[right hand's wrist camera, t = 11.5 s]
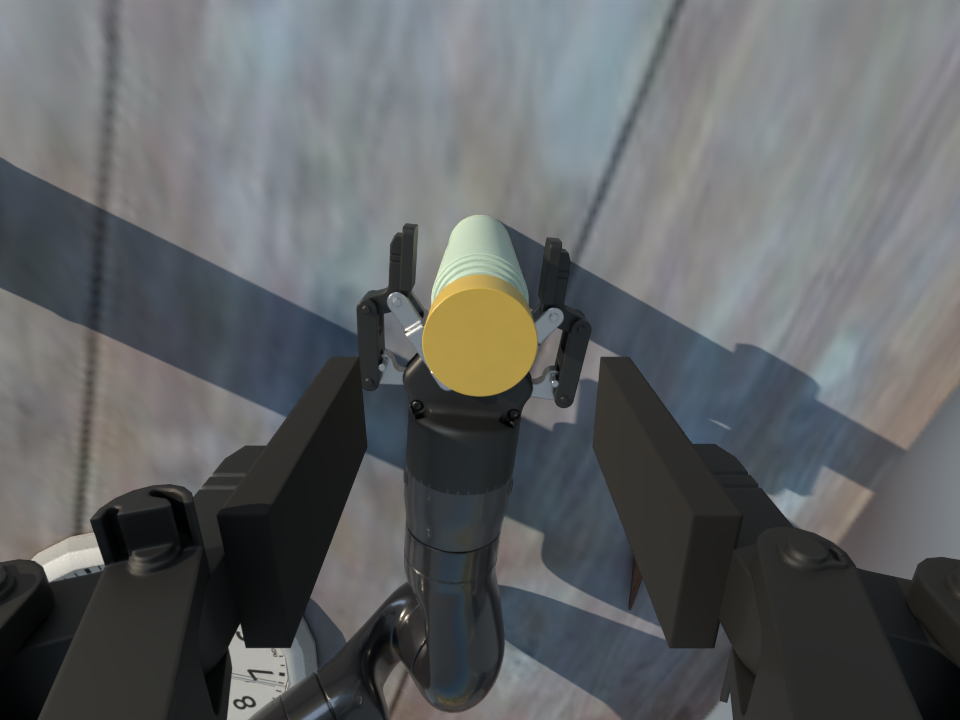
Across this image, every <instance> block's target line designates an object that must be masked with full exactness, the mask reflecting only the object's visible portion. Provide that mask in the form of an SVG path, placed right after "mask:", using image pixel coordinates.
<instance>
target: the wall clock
mask: <svg viewBox="0 0 960 720" xmlns="http://www.w3.org/2000/svg"><path fill="white" fill-rule="evenodd" d="M32 561H35V562H37V563H38V564H40V565H41V566H43V568H44V571H45V573H46V576H47V578H48V581H49V582H54V581H59V580H63V579H68V578H73V577H77V576H82V575H87V574H91V573H96V572H99V571H103V569H104V567H105V565H104V562H103V558H102V555H101V552H100V549H99V546H98V543H97V540H96V537H95V534H94V532H93V533H88V534H83V535H78V536H72V537H70V538H68V539H66V540H64V541H62V542H60V543H58V544H56V545H54V546H52V547H50V548H48V549H46V550H44V551H42V552H40V553H38V554H37V555H36V556H35V557H34V558H33V559H32ZM228 648H229V652H230V656H231V662H232V677H231V686H230V696H229V706H228V715H227V720H248V719H249V718H250V717H251V716H252V715H253V714H255V713H256V712H257V711H258V710H260V709H261V708H262V707H264V706H265V705H266V704H267V703H269V702H270V701H272V700H273V699H275V698H276V697H278V696H279V695H281V694H282V693H283V692H285V691H286V690H288V689H289V688H291V687H292V686H293V685H295V684H296V683H298V682H299V681H301V680H302V679H304V678H305V677H307V676H308V675H309V674H311V673H312V672H315V673H316V670H317V669H318V664H317V654H316V644H315V640H314V638H313V636H312V634H311V632H310V630H309V628H308V625H307V623H306V621H305V619H304V617H302V620H301V622H300V625H299V627H298V630H297V633H296V635H295V638H294V641H293V643H292V646H291V648H246V647H245V643H244V638H243V634H242V629H241V625H239V627H238V629H237V631H236V633H235V635H234V637H233V639H232V641H231V643H230V645H229V647H228Z"/></svg>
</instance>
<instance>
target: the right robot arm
mask: <svg viewBox="0 0 960 720" xmlns="http://www.w3.org/2000/svg"><path fill="white" fill-rule="evenodd" d="M366 449H367V438H366V426H365V415H364V404H363V393H362V382H361V371H360V359H359V357H330V359H329V360H328V361H327V363H326V364H325V365H324V367H323V368H322V370H321V371H320V372H319V374H318V375H317V376H316V378H315V379H314V381H313V382H312V383H311V385H310V386H309V388H308V389H307V390H306V392H305V393H304V394H303V396H302V397H301V399H300V400H299V401H298V403H297V404H296V406H295V407H294V408H293V410H292V411H291V412H290V414H289V415H288V417H287V418H286V419H285V421H284V422H283V424H282V425H281V426H280V428H279V429H278V430H277V432H276V433H275V435H274V436H273V437H272V439H271V440H270V442H269V443H268V444H267V446H244V447H243V448H241V449H240V450H238V451H236V452H235V453H233V454H232V455H230V456H229V457H227V458H225V459H224V461H223V462H222V463H221V464H220V466H219V467H218V468H217V469H216V470H215V472H214V473H213V476H212V477H210V478H209V479H208V480H207V481H206V482H205V484H204V485H203V486H202V490H199V491H198V492H197V493H196V495H195V496H194V497H193V496H192V493H191V492H190V491H189V490H187V489H186V488H185V487H182V486H177V485H171V484H167V485H153V486H149V487H145V488H141V489H137V490H133V491H131V492H129V493H126V494H124V495H122V496H119V497H117V498H115V499H113V500H112V501H110V502H109V503H107V504H106V505H104V506H103V507H101V508H100V509H99V510H98V511H97V512H96V514H95V515H94V516H93V517H92V518H91V519H90V522H91V525H92V528H93V531H94V534H95V537H96V540H97V543H98V546H99V549H100V552H101V555H102V558H103V562H104V565H105V567H104V569H103V571H99V572H96V573H91V574H87V575H82V576H77V577H73V578H68V579H63V580H59V581H54V582H49V581H48V578H47V576H46V573H45V571H44V568H43V566H41V565H40V564H38V563H37V562H35V561H32V560H21V559H18V560H12V561H6V562H0V720H227V715H228V706H229V696H230V686H231V677H232V662H231V656H230V652H229V648H228V647H229V645H230V643H231V641H232V639H233V637H234V635H235V633H236V631H237V629H238V627H239V625H241V629H242V634H243V638H244V643H245V647H246V648H291V646H292V643H293V641H294V638H295V635H296V633H297V630H298V627H299V625H300V622H301V620H302V617H303V614H304V612H305V609H306V606H307V604H308V601H309V599H310V596H311V593H312V591H313V588H314V585H315V583H316V580H317V578H318V575H319V572H320V570H321V567H322V564H323V562H324V559H325V556H326V554H327V551H328V549H329V546H330V543H331V541H332V538H333V535H334V533H335V530H336V528H337V525H338V522H339V520H340V517H341V514H342V512H343V509H344V507H345V504H346V501H347V499H348V496H349V493H350V491H351V488H352V485H353V483H354V480H355V478H356V475H357V472H358V470H359V467H360V464H361V462H362V459H363V457H364V454H365V451H366ZM593 449H594V451H595V454H596V457H597V459H598V462H599V464H600V467H601V470H602V472H603V475H604V478H605V480H606V483H607V485H608V488H609V491H610V493H611V496H612V499H613V501H614V504H615V507H616V509H617V512H618V514H619V517H620V520H621V522H622V525H623V528H624V530H625V533H626V535H627V538H628V541H629V543H630V546H631V549H632V551H633V554H634V556H635V559H636V562H637V564H638V567H639V570H640V572H641V575H642V578H643V580H644V583H645V585H646V588H647V591H648V593H649V596H650V599H651V601H652V604H653V606H654V609H655V612H656V614H657V617H658V620H659V622H660V625H661V627H662V630H663V633H664V635H665V638H666V641H667V643H668V646H669V648H714V647H715V643H716V638H717V634H718V629H719V625H720V622H721V624H722V626H723V628H724V630H725V632H726V634H727V636H728V638H729V640H730V642H731V644H732V648H731V652H730V656H729V660H728V665H727V669H726V673H725V677H724V682H723V686H722V690H721V697H720V701H722V702H726V703H727V701H728V697H729V693H730V694H731V704H732V713H733V720H960V560H956V559H951V558H945V557H937V558H926V559H925V560H924V561H922V562H921V563H919V564H918V565H917V568H916V570H915V573H914V576H913V578H912V580H908V579H903V578H898V577H894V576H889V575H884V574H880V573H875V572H870V571H866V570H862V569H859V568H856V566H855V564H854V563H853V561H852V560H851V559H850V557H849V556H848V555H847V553H846V552H844V551H843V550H842V549H840V548H839V547H838V546H837V545H835V544H834V543H833V542H831V541H829V540H827V539H825V538H823V537H821V536H819V535H817V534H815V533H812V532H809V531H805V530H802V529H798V528H794V527H793V526H792V525H791V523H790V522H789V521H788V520H787V519H786V517H785V516H784V515H783V514H782V513H781V511H780V510H779V509H778V508H777V507H776V505H775V504H774V503H773V502H772V501H771V499H770V498H769V497H768V496H767V495H766V493H765V492H764V491H763V490H762V489H761V488H758V484H757V483H756V481H755V480H754V479H753V478H752V477H751V475H748V472H747V471H746V469H745V468H744V467H743V466H742V464H741V463H740V462H739V461H738V460H737V458H736V457H735V456H733V455H731V454H730V453H728V452H727V451H725V450H723V449H722V448H720V447H719V446H717V445H716V444H692V443H691V442H690V440H689V439H688V437H687V436H686V435H685V433H684V432H683V430H682V429H681V428H680V426H679V425H678V424H677V422H676V421H675V419H674V418H673V417H672V415H671V414H670V412H669V411H668V410H667V408H666V407H665V406H664V404H663V403H662V401H661V400H660V399H659V397H658V396H657V394H656V393H655V392H654V390H653V389H652V388H651V386H650V385H649V383H648V382H647V381H646V379H645V378H644V376H643V375H642V374H641V372H640V371H639V370H638V368H637V367H636V365H635V364H634V363H633V361H632V360H631V359H630V357H601V359H600V370H599V382H598V393H597V404H596V415H595V426H594V438H593Z"/></svg>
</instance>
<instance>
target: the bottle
mask: <svg viewBox="0 0 960 720" xmlns="http://www.w3.org/2000/svg"><path fill="white" fill-rule="evenodd" d="M478 274H483V275H491V276H495V277H498V278H501V279H503V280H505V281H507V282H509V283H510V284H512V285H513V286H514V287H515V288H516V289H517V290H519V291H520V293H521V294H522V295H523V296H524V298H525V300H526V301H527V303H528V305H529V296H528V290H527V286H526V283H525V280H524V277H523V274H522V271H521V268H520V265H519V262H518V260H517V257H516V254H515V251H514V248H513V245H512V242H511V239H510V236H509V234H508V232H507V230H506V228H505V227H504V226H503V225H502V224H501V223H500V222H499V221H498V220H496V219H495V218H493V217H490V216H487V215H473V216H470V217H467V218H465V219H464V220H462V221H461V222H460V223H458V225H457V226H456V227H455V228H454V230H453V232H452V234H451V236H450V239H449V242H448V245H447V248H446V251H445V254H444V257H443V260H442V263H441V266H440V268H439V271H438V274H437V277H436V280H435V283H434V286H433V290H432V296H431V305H432V303H433V301H434V299H435V298H436V297H437V295H438V294H439V293H440V292H441V291H442V289H443V288H445V287H446V286H447V285H448V284H450V283H451V282H453V281H455V280H457V279H459V278H462V277H465V276H469V275H478Z"/></svg>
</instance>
